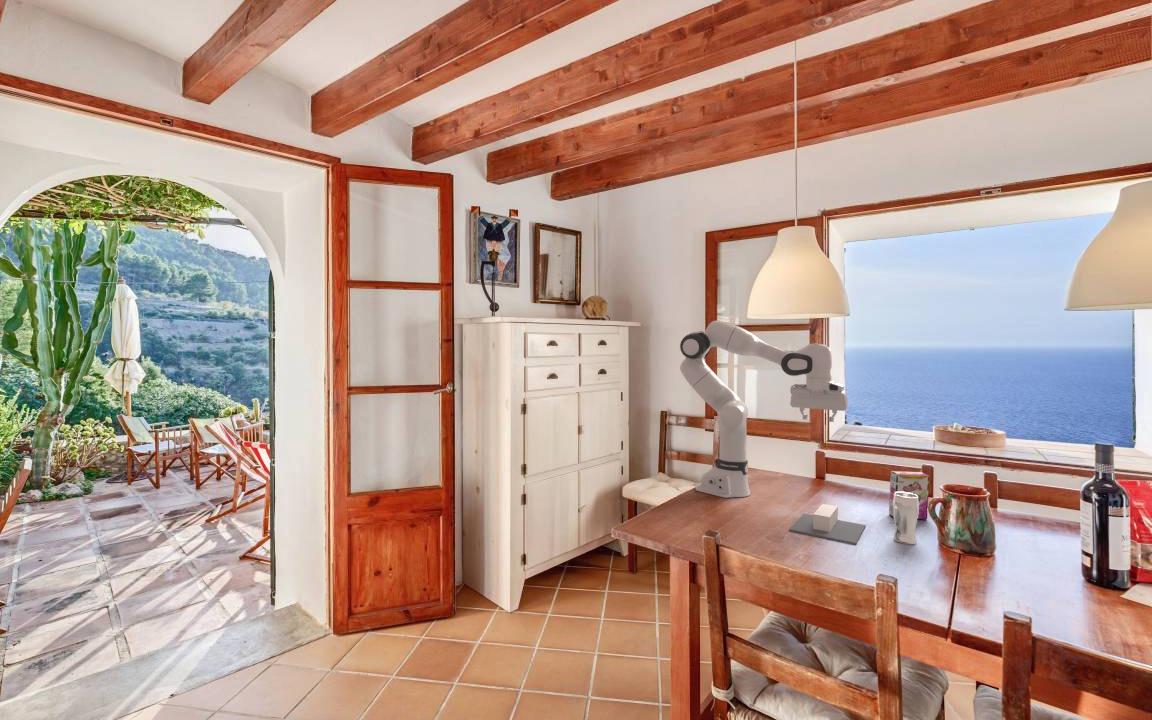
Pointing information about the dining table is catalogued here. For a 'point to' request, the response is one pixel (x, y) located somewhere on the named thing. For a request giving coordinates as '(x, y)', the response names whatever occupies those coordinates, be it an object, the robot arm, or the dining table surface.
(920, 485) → the candy bar box
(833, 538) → the rubber mat
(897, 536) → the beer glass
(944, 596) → the dining table surface
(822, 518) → the white block
